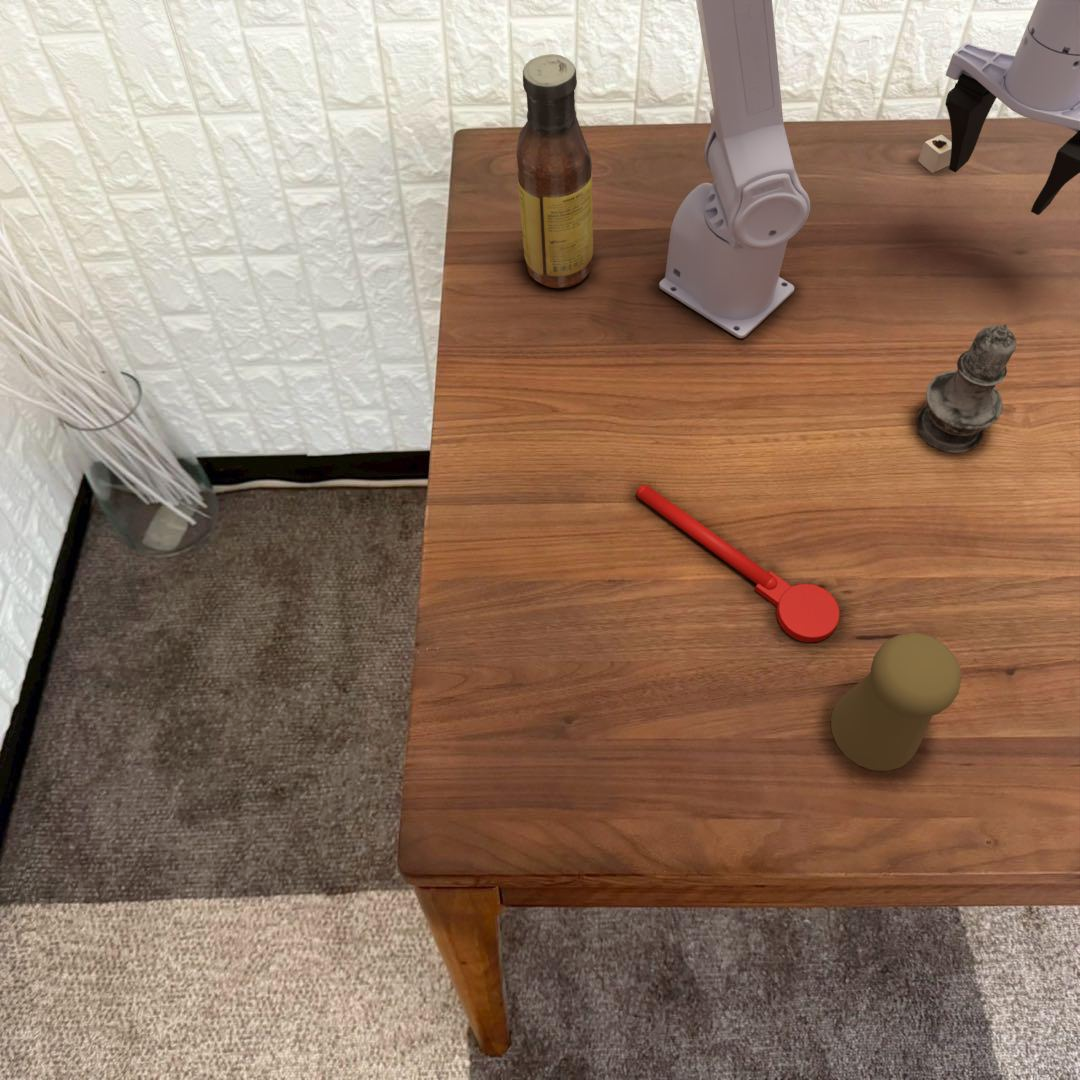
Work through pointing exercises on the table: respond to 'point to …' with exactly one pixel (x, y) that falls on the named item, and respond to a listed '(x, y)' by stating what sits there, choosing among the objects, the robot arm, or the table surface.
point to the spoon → (761, 578)
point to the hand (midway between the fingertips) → (998, 185)
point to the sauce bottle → (554, 177)
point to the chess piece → (967, 393)
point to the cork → (896, 701)
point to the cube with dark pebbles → (936, 153)
